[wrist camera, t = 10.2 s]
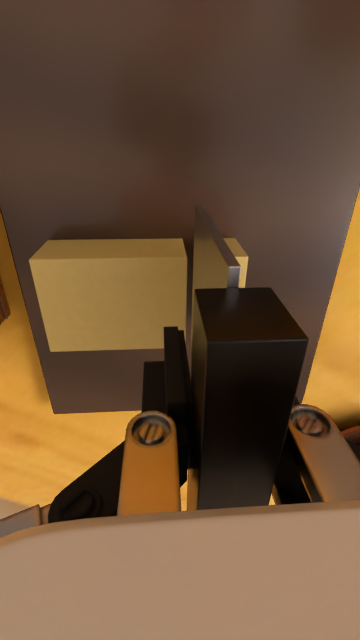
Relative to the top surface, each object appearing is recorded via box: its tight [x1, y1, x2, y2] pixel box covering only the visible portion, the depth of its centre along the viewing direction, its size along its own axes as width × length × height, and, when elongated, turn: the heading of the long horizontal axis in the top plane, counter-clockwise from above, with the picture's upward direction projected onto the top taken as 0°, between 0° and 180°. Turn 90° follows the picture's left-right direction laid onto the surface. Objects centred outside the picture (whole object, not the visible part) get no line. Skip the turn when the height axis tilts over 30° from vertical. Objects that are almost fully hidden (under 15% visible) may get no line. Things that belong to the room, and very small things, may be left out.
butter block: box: [29, 239, 187, 352], centre depth 17 cm, size 5×7×3 cm
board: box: [0, 0, 360, 414], centre depth 19 cm, size 22×18×1 cm
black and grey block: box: [187, 205, 309, 511], centre depth 12 cm, size 10×2×9 cm, turn 0°
